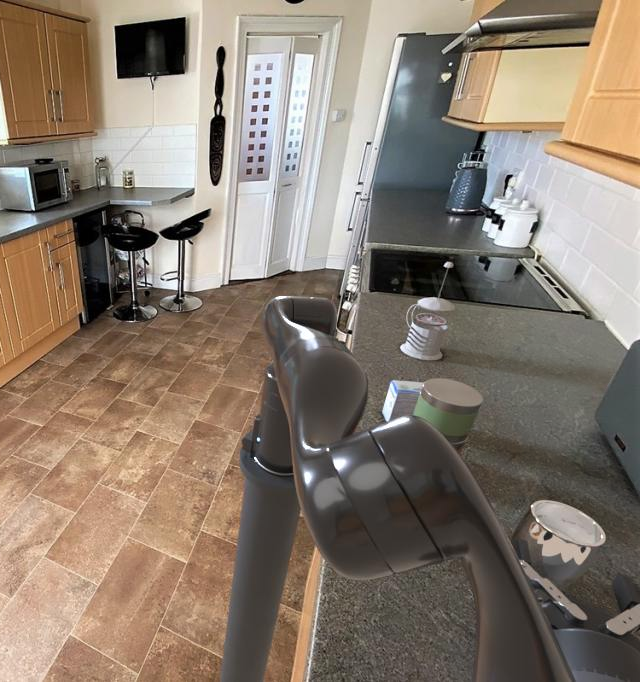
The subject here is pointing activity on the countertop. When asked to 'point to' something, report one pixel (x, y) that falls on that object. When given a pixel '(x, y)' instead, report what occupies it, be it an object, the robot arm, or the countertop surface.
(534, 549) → the beer glass
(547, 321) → the countertop surface
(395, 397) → the medicine box
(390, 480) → the robot arm
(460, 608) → the countertop surface
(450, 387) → the tin stack
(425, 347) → the french press
